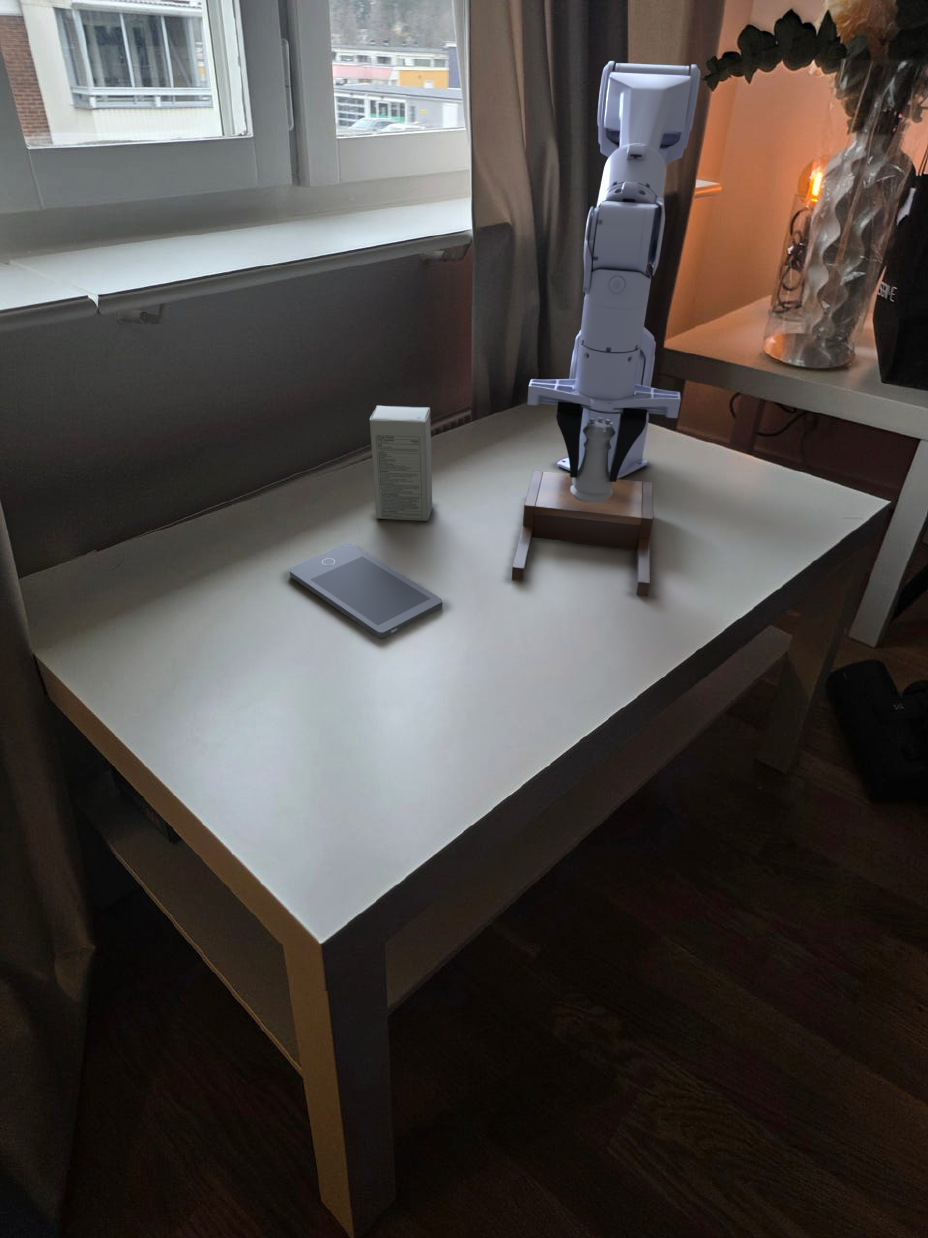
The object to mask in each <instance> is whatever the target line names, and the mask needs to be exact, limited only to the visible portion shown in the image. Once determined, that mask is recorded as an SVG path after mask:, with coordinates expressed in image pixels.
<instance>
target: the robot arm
mask: <svg viewBox="0 0 928 1238" xmlns="http://www.w3.org/2000/svg"><path fill="white" fill-rule="evenodd" d="M701 72H702V71H700V69H699V68H698V65H697V64H694V63H692V64H691V65H690V66H689V65H673V64H650V63H647V64H646V63H626V62H625V63H624V62H617V63H616V61H615V60H609V61H608V63H607V64H605V66H604V67H603V69H602V74H601V80H600V87H599V97H598V107H597V127H598V144H599V145H600V149H599V150H600V153H601V154H602V155H603V156H606V157H607V160H606V162H605V165H604V168H603V173H602V178H601V182H600V188H599V192H598V196H597V197H598V198H597V201H596V207H594V206H591V207H590V209H589V211H588V214H587V220H586V227H585V232H584V233H585V234H584V243H583V270H584V271H583V272H584V273H583V275H584V276H583V284H582V285H583V287H582V292H583V293H585V295H584V298H583V307H582V315H581V316H582V317H581V325H580V330H579V332H578V334H577V335H576V337H575V341H574V348H573V351H572V356H571V362H570V369H569V378H563V379H561V378H560V379H557V378H556V379H536V378H531V379H530V381H529V384H528V389H527V390H528V392H527V403H526V404H527V405H528V406H539V404H543V405H554V406H555V405H556V406H557V407H556V415H555V419H556V422H557V427H558V428H559V430H560V433H561V435H562V438H563V442H564V444H565V448H566V451H567V456H568V457H566V458H564V459H561V460H559V461H557V466H558V467H560V468H561V469H564V470H567V471H569V474H570V477H571V478H577V472H578V469H579V468H580V466H581V464H582V460H583V456H584V452H585V447H584V445H583V444H584V443H585V442H586V439H587V438H586V436H585V434H584V433H583V429H584V428H585V427H586V426H587V423H588V421H589V420H590V419H591V418H594V419H595V421H594V422H597V418H602V422H604V423H605V420H606V419H609V420H611V422H613V429H614V430H615V435H614V436H613V437H612V438H611V439H610V445H611V449H610V450H609V453H608V471H609V472H610V480H609V481H610V482H616V481H617V479H621V478H623V477H626V476H627V475H629V474H631V473H634V472H635V471H637V470H639V469H641V468H642V469H643V468H644V467H645V466H647V465H648V460H647V459H644V458H643V456H644V451H645V445H646V439H647V432H648V426H649V420H650V415H649V414H654V415H664V416H665V417H666V418H668V419H678V417H679V411H680V406H681V401H682V399H681V398H682V397H681V392H680V391H673V390H666V389H662V388H661V389H659V388H656V387H652V380H653V375H654V367H655V359H656V355H655V352H656V347H657V342H656V341H655V336H654V335H653V334H652V333H651V332H650V331H649V330H648V329H647V328H646V327H645V320H646V315H647V307H648V302H649V295H650V289H651V282H652V276H655V274H656V271H657V268H658V266H659V262H660V256H661V249H662V244H663V243H662V242H663V237H664V230H665V222H666V213H665V210H666V209H665V199H664V192H665V185H666V184H665V183H666V177H667V166H666V165H668V164H670V163H672V162H675V161H677V160H679V159H682V158H683V156H684V151H685V150H686V149H687V148H688V143H689V138H690V133H691V131H692V129H693V125H694V119H695V113H696V108H697V103H698V102H697V101H698V94H699V88H700V81H701ZM648 265H651V267H652V275H651V273H650V270H649V269H648Z"/></svg>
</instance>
